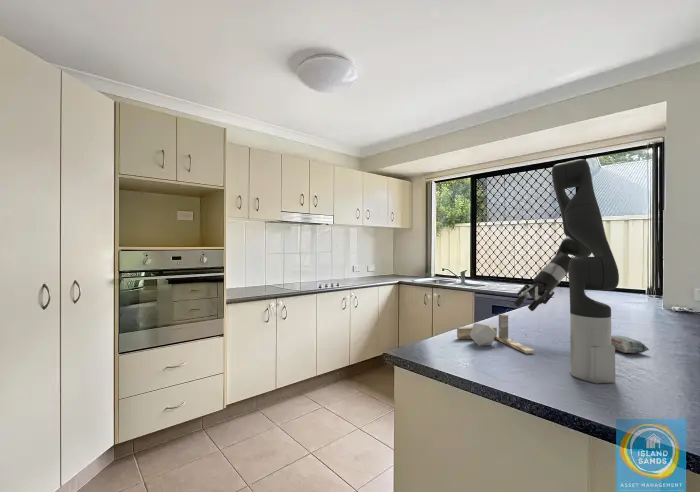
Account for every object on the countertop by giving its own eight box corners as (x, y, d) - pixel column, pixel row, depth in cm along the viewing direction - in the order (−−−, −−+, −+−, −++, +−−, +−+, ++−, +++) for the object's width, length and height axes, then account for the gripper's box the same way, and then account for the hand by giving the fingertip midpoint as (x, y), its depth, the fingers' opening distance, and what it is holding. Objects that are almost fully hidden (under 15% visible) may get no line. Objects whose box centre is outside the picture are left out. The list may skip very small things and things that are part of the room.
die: (496, 350, 116) (503, 326, 120) (474, 338, 116) (482, 315, 120) (483, 352, 124) (490, 329, 128) (463, 341, 124) (470, 318, 128)
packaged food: (626, 357, 107) (626, 342, 108) (595, 346, 119) (595, 332, 119) (650, 356, 108) (650, 341, 108) (617, 346, 120) (617, 332, 120)
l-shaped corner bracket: (534, 353, 111) (533, 323, 111) (486, 355, 108) (486, 325, 108) (497, 336, 132) (497, 311, 132) (457, 337, 130) (457, 312, 130)
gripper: (530, 269, 135) (505, 297, 133) (557, 271, 120) (528, 303, 119) (542, 281, 135) (517, 310, 134) (570, 285, 121) (542, 318, 120)
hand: (522, 307), depth 126 cm, fingers open, 8 cm apart
